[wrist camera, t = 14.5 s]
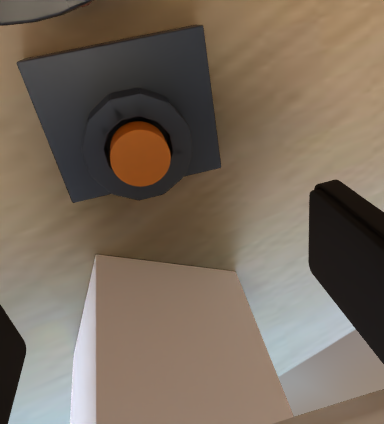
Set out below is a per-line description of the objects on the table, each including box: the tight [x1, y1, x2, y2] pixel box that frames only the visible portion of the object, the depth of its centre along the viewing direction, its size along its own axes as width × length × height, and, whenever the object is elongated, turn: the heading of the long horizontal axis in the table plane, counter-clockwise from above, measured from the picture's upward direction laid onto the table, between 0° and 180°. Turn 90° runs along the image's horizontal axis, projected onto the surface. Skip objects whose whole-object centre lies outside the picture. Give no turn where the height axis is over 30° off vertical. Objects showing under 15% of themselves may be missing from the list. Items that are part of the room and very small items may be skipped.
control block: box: [17, 25, 221, 203], centre depth 20 cm, size 10×8×4 cm
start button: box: [110, 121, 171, 187], centre depth 19 cm, size 3×3×2 cm
